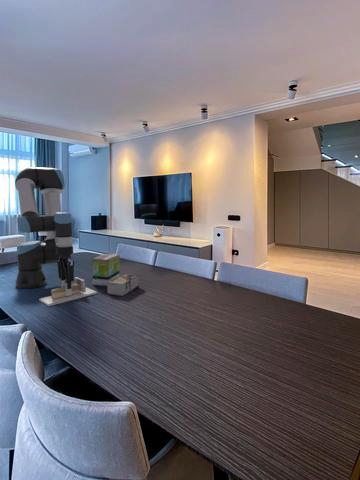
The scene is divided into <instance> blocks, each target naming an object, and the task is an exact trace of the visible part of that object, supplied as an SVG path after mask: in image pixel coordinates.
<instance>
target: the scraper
mask: <svg viewBox="0 0 360 480" xmlns="http://www.w3.org/2000/svg"><path fill="white" fill-rule="evenodd" d="M71 286H72V294H75V293H78V292H83V293H84V292H86V282H85V279H82V278H80V277H77V276H76V277H75V276H74V283H71ZM50 292H51V296H52V298H53V299H54V300H56V299H59V298H62V297H65V296H66V291H65V286H63V287H62V286H60V287H56V288H53V289H51V290H50Z"/></svg>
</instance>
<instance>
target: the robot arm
mask: <svg viewBox="0 0 360 480" xmlns="http://www.w3.org/2000/svg"><path fill="white" fill-rule="evenodd" d="M62 171H63V170H61V169H59V168H53V167H36V166H35V167H33V166H31V167H27V168H24V169H23V170H21V171H20V172H19V173H18V174H17V176H16V177H15V180H14V186H15V189H16V191H17V192H18V201H19V209H20V216H18V217H17V218H16V221H17V222H16V223H17V225H16V226H17V232H19V233H24V234H25V233H26V234H29V233H30V234H31V233H45V232H46V238H45V239H44V243H43V242H41V241H40V240H33V241H32V240H31V241H25V242H22V243H20V244H18V245H17V246H16V255H17V270H18V272H17V275H16V280H15V287H16V288H18V289H25V290H26V289H34V288H35V289H36V288H39V287H43V286H45V285H47V277H46V275H45V273H44V270H43V265H52V264H57V272H58V279H60V281H61V287H63V286H65V291H66V296H69V295H72V286H71V284H72V283H73V282H75V279H74V278H75V260H72V257H71V255H72V254H74V246H73V245H74V239H73V218H72V214H71V212H67V211H66V212H65V211H64V212H62V205H61V204H62V203H61V194H62V193H63V190H65V188H66V187H65V186H66V184H65V177H64V174H63V172H62ZM35 190H39V192H40V193H41V194H42V195H43V204H44V206H43V207H44V215H39V210H38V205H37V199H36V194H35Z"/></svg>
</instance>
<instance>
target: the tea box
mask: <svg viewBox="0 0 360 480" xmlns="http://www.w3.org/2000/svg"><path fill="white" fill-rule="evenodd" d="M120 262H121V261H120V254H115V253H114V254H113V253H110V254H109V253H103V254H100V255H98V256H96V257H94V258H93V257H92V265H91V266H92V285H95V286H107V282H109V281H111V280H114V279H116V278H118V277H120V276H121V274H120V272H121V271H120V268H121V267H120V264H121V263H120Z"/></svg>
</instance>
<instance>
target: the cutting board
mask: <svg viewBox="0 0 360 480" xmlns="http://www.w3.org/2000/svg"><path fill="white" fill-rule="evenodd" d="M85 288H86V292H84V293H83V292H78V293H75V294H72V295H69V296H65V297H62V298H59V299H56V300H54V299H53V298H52V295H49V296H44V297H41V298H39V299H38V300H39V302H41V303H42V304H44V305H46V306H47V307H52V306H55V305H58V304H63V303H67V302H70V301H73V300H78V299H81V298H85V297H89V296H93V295H97V294H98V292H97V291H95V290H94V289H91V288H89V287H86V286H85Z"/></svg>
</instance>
